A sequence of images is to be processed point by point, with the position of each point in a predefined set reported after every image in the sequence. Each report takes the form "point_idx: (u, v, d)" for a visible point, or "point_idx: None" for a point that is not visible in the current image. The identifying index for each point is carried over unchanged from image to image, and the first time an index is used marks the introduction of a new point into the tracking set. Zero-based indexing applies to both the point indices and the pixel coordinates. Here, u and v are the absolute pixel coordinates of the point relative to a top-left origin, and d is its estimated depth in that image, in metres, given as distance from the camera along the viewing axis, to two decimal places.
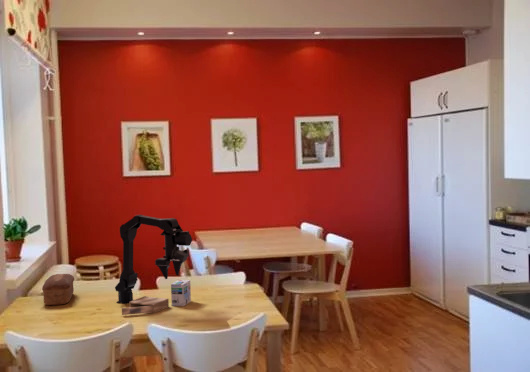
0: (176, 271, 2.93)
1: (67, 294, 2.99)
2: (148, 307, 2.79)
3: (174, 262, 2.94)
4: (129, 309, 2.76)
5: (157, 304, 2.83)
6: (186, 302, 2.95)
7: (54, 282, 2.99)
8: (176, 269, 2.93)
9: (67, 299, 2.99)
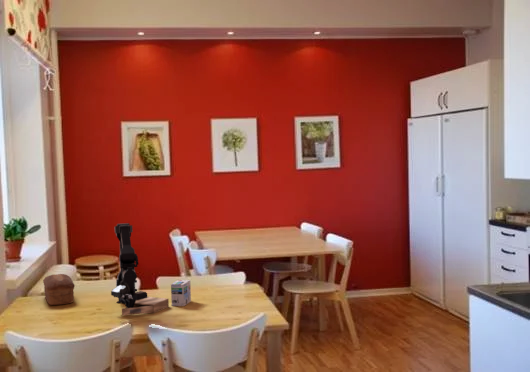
0: None
1: (72, 293, 3.01)
2: (148, 307, 2.79)
3: None
4: (129, 309, 2.76)
5: (157, 304, 2.83)
6: (186, 302, 2.95)
7: (59, 282, 3.00)
8: None
9: (72, 298, 3.01)
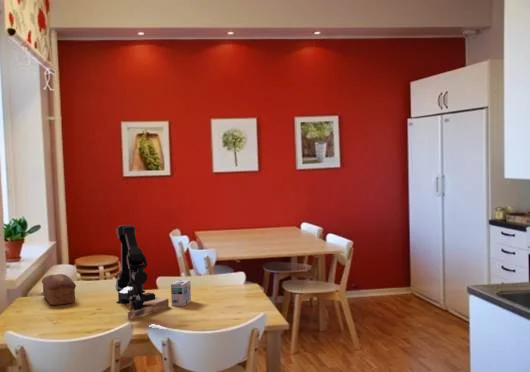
0: None
1: (74, 293, 3.02)
2: (149, 307, 2.78)
3: None
4: (134, 312, 2.71)
5: (157, 304, 2.83)
6: (186, 302, 2.95)
7: (60, 282, 3.00)
8: None
9: (74, 298, 3.02)
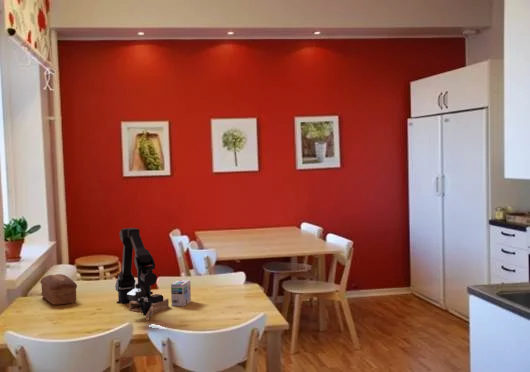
0: None
1: (75, 292, 3.02)
2: (152, 308, 2.77)
3: None
4: (149, 313, 2.69)
5: (157, 304, 2.83)
6: (186, 302, 2.95)
7: (62, 281, 3.00)
8: None
9: (75, 297, 3.03)
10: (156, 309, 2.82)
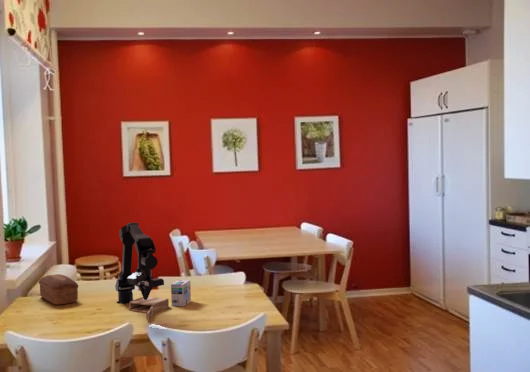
0: None
1: (77, 292, 3.03)
2: (152, 308, 2.77)
3: None
4: (149, 313, 2.69)
5: (157, 304, 2.83)
6: (186, 302, 2.95)
7: (63, 281, 3.00)
8: None
9: (77, 297, 3.03)
10: (156, 309, 2.82)
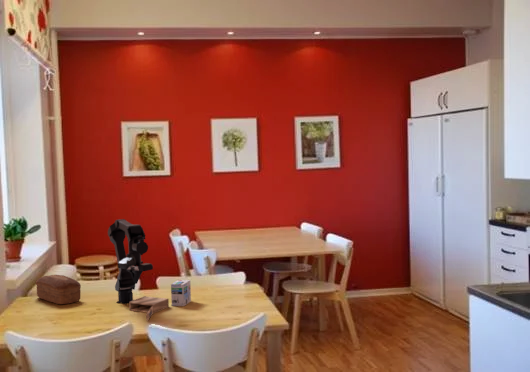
0: None
1: (80, 291, 3.05)
2: (152, 308, 2.77)
3: None
4: (149, 313, 2.69)
5: (157, 304, 2.83)
6: (186, 302, 2.95)
7: (67, 281, 3.01)
8: None
9: None
10: (156, 309, 2.82)
